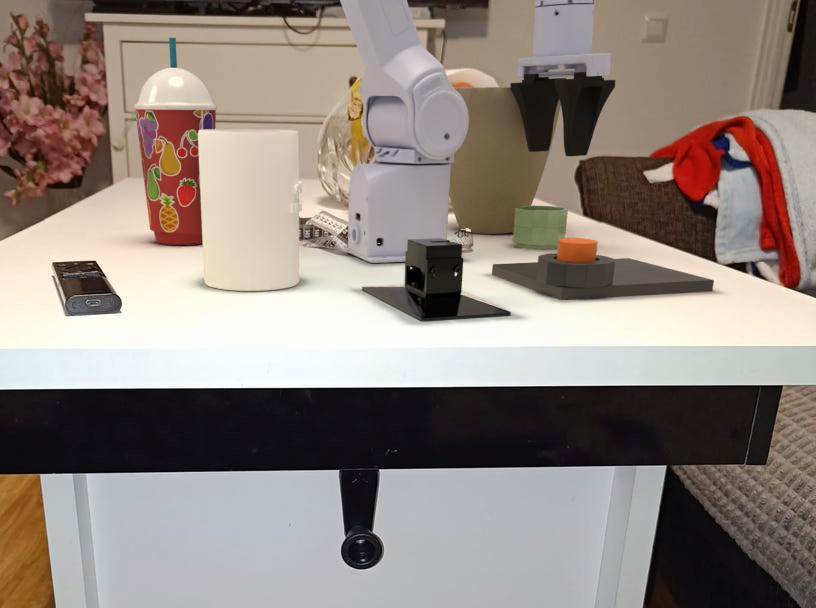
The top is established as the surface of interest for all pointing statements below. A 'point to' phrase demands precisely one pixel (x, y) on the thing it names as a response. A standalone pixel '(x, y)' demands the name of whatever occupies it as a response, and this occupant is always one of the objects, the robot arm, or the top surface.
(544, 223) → the bowl
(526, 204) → the plant pot
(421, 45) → the robot arm
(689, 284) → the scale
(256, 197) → the mug
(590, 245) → the button
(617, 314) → the top surface
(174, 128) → the smoothie
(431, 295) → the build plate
